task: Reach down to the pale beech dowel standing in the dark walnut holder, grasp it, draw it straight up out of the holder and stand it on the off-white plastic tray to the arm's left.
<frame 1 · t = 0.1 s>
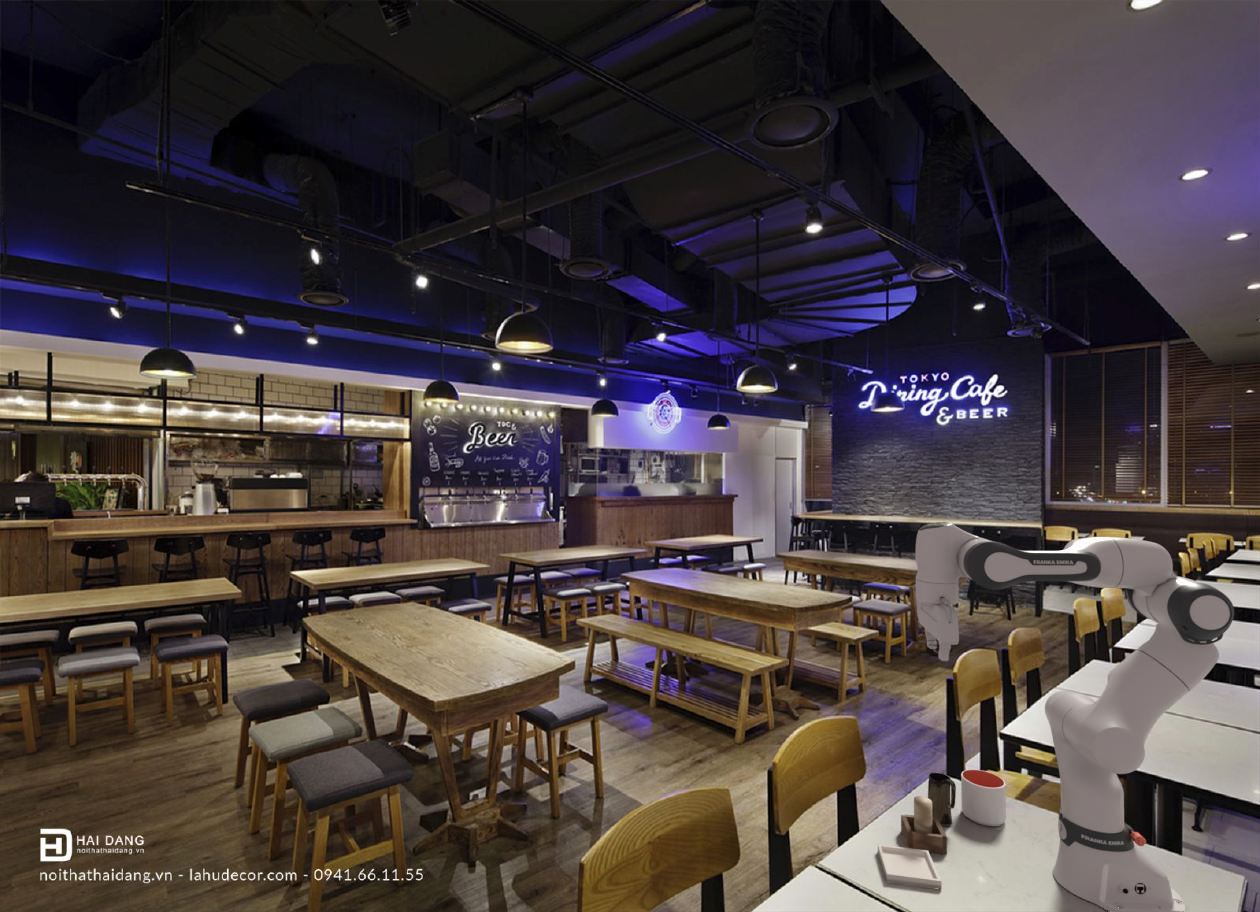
hand: (937, 653, 142), 48 cm above the table, fingers open, 8 cm apart
tray: (908, 870, 140), on the table
holder: (923, 842, 150), on the table
cup: (983, 818, 161), on the table
dowel: (923, 821, 150), in the holder
mug: (942, 823, 158), on the table
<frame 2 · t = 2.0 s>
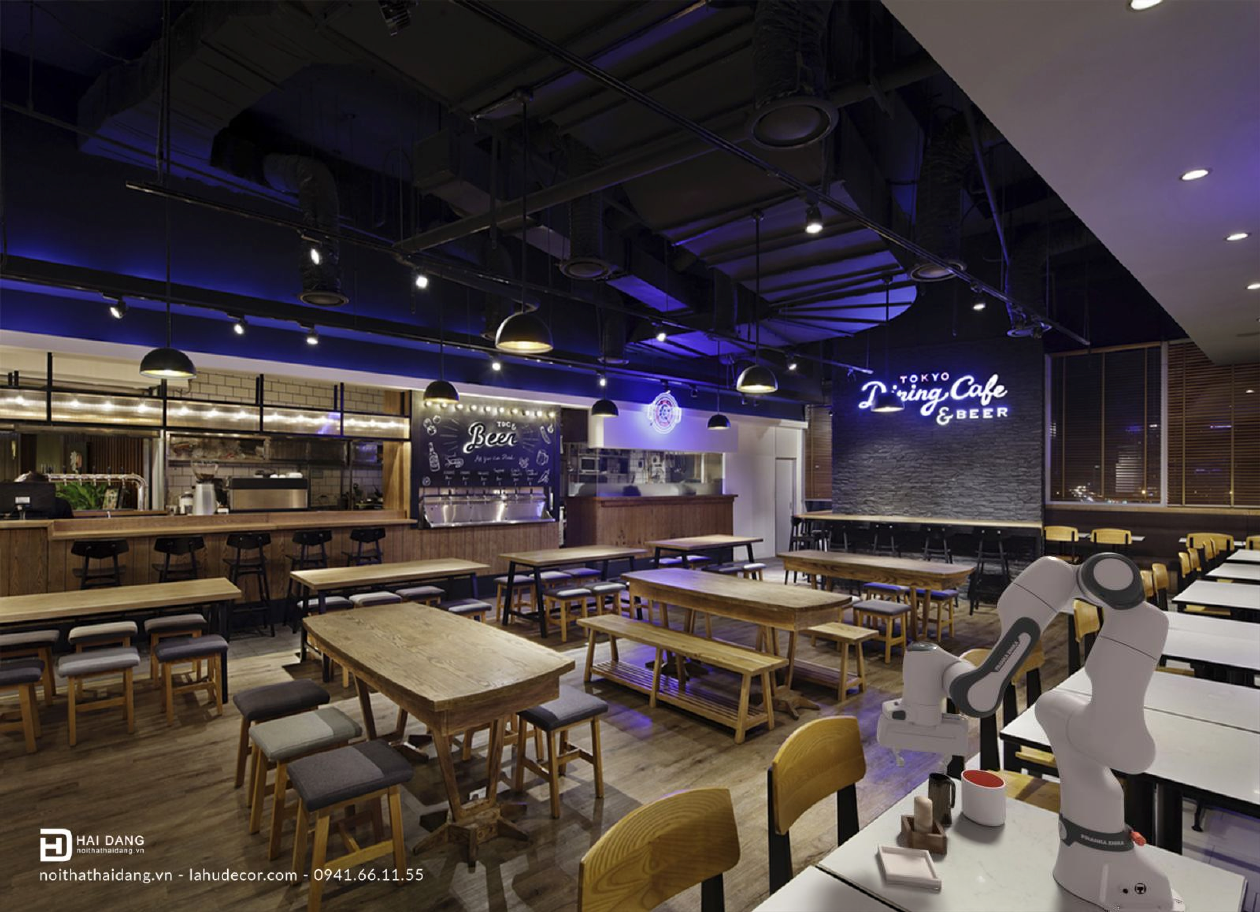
hand: (921, 768, 150), 18 cm above the table, fingers open, 8 cm apart
nothing on the table moved.
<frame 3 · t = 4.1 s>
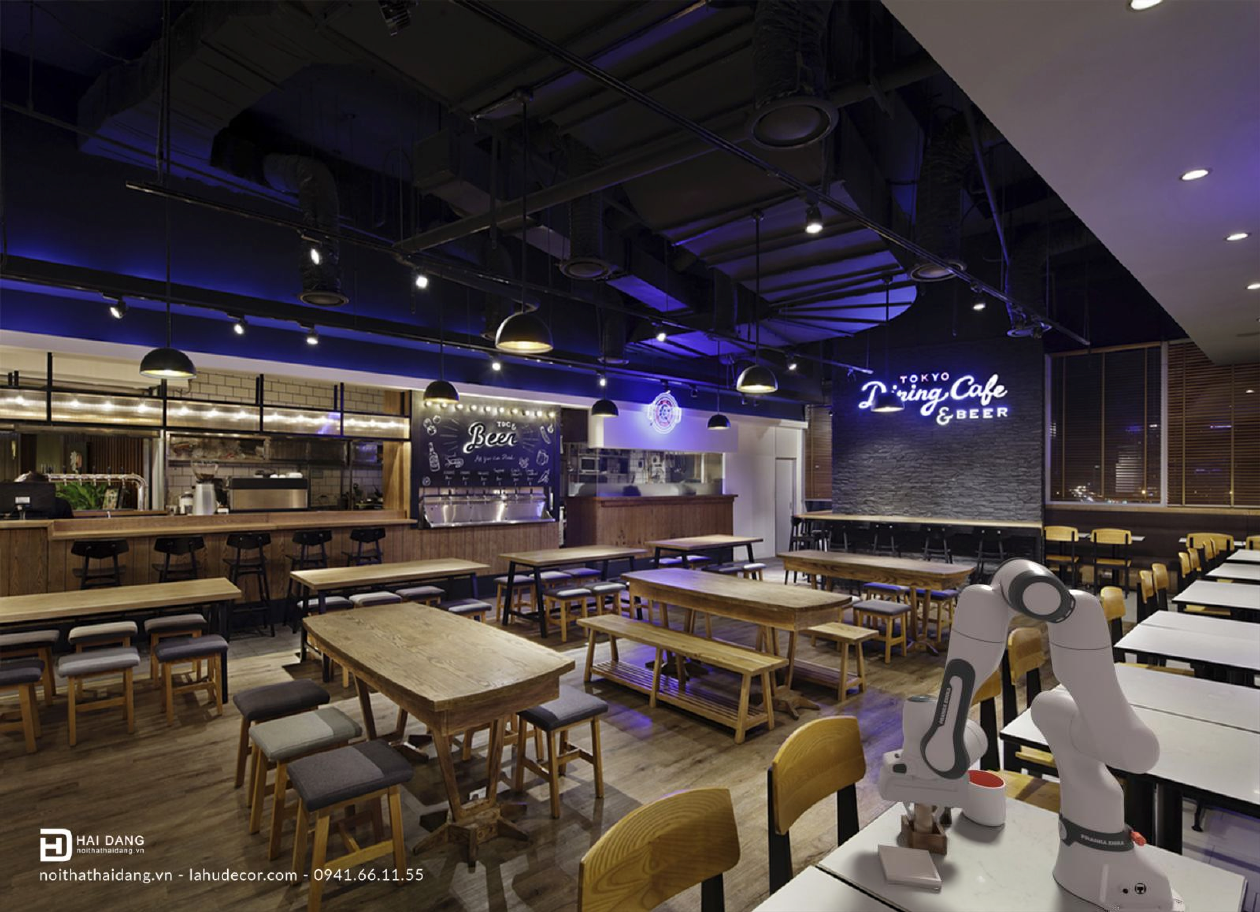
hand: (923, 820, 150), 5 cm above the table, fingers closed on dowel, 4 cm apart
dowel: (923, 821, 150), in the holder, touching gripper
everything else where it was.
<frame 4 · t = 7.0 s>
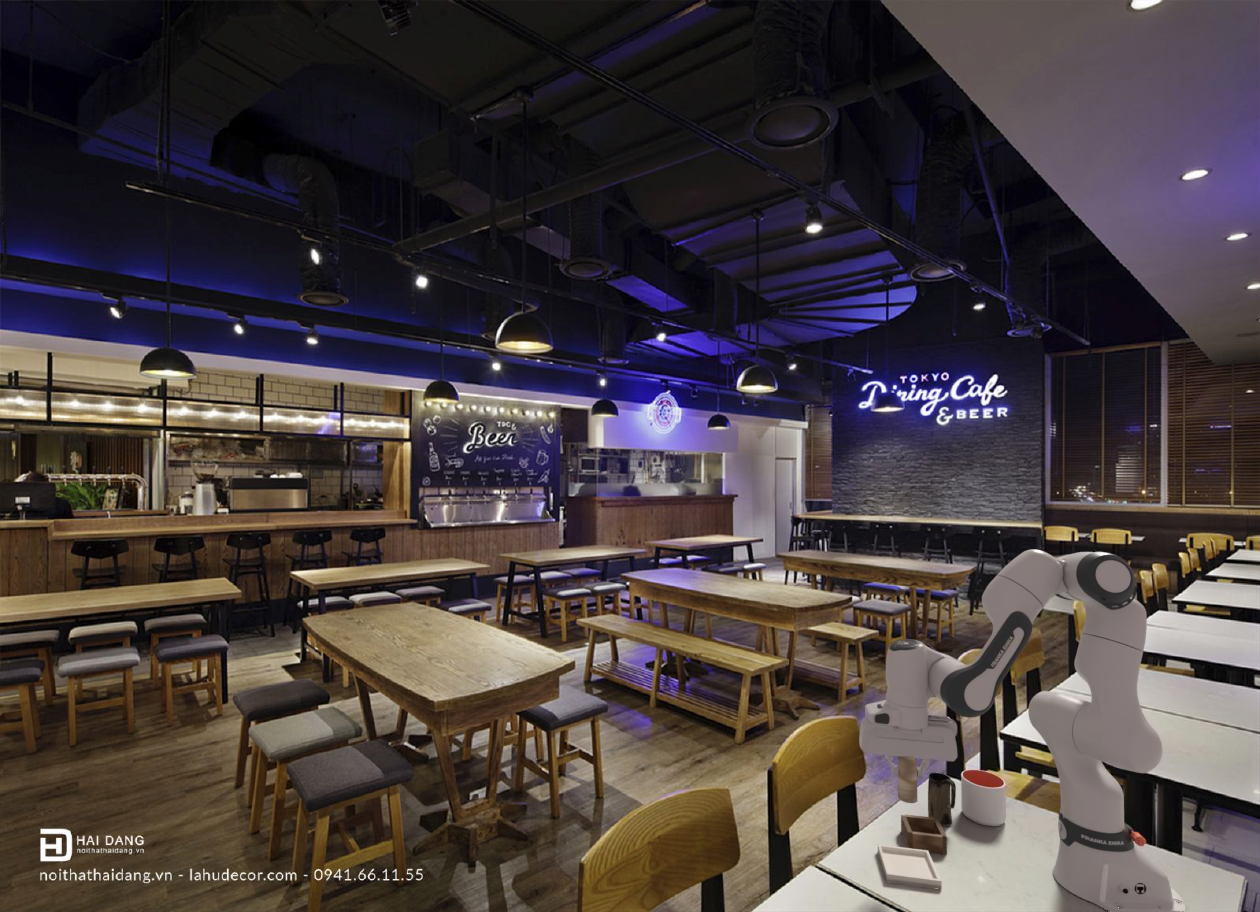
hand: (907, 775, 140), 21 cm above the table, fingers closed on dowel, 4 cm apart
dowel: (907, 776, 140), point 21 cm above the table, touching gripper
everything else where it was.
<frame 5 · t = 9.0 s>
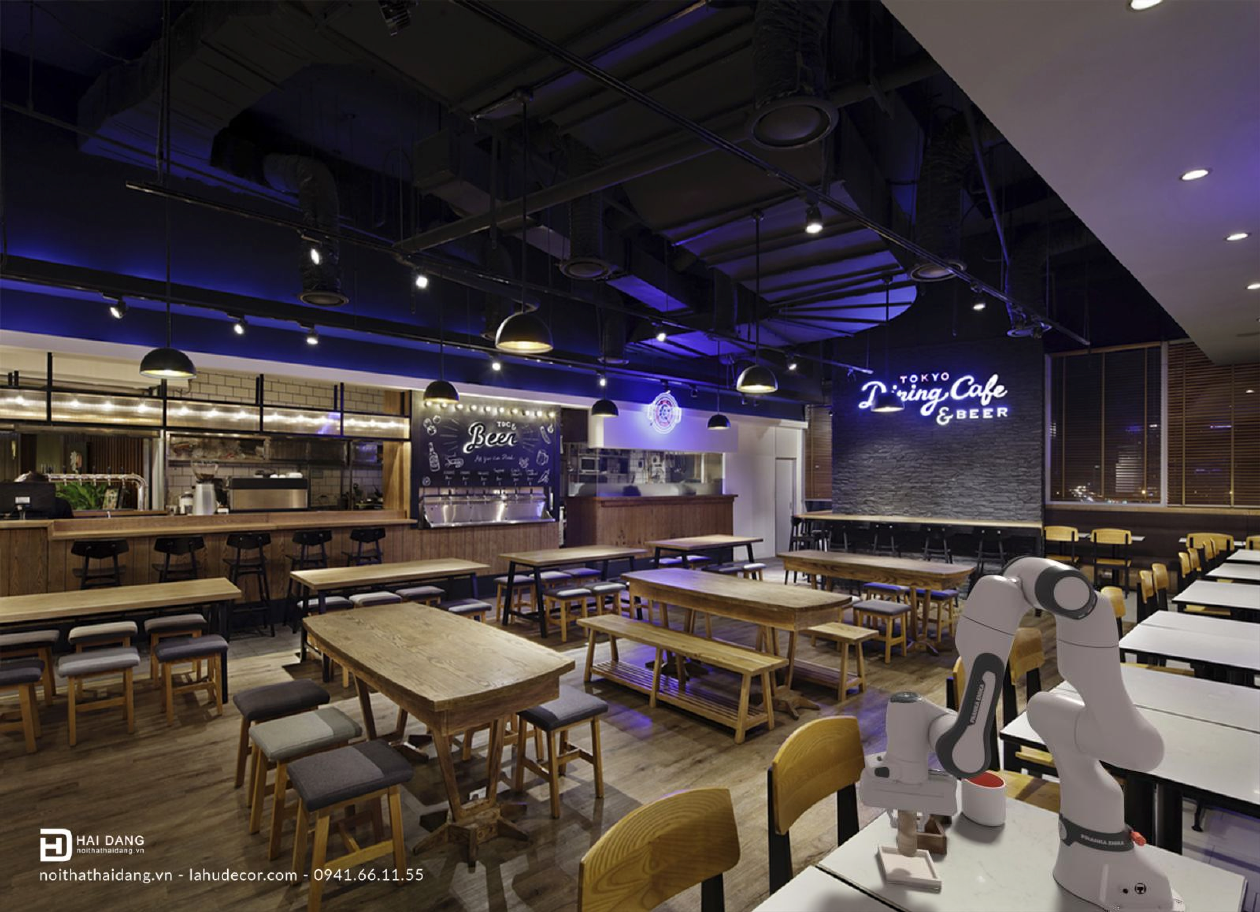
hand: (907, 828, 140), 9 cm above the table, fingers closed on dowel, 4 cm apart
dowel: (907, 829, 140), point 9 cm above the table, touching gripper
everything else where it was.
when the fingers open (7 cm above the table, at t = 10.3 s): dowel drops 1 cm, resting on tray.
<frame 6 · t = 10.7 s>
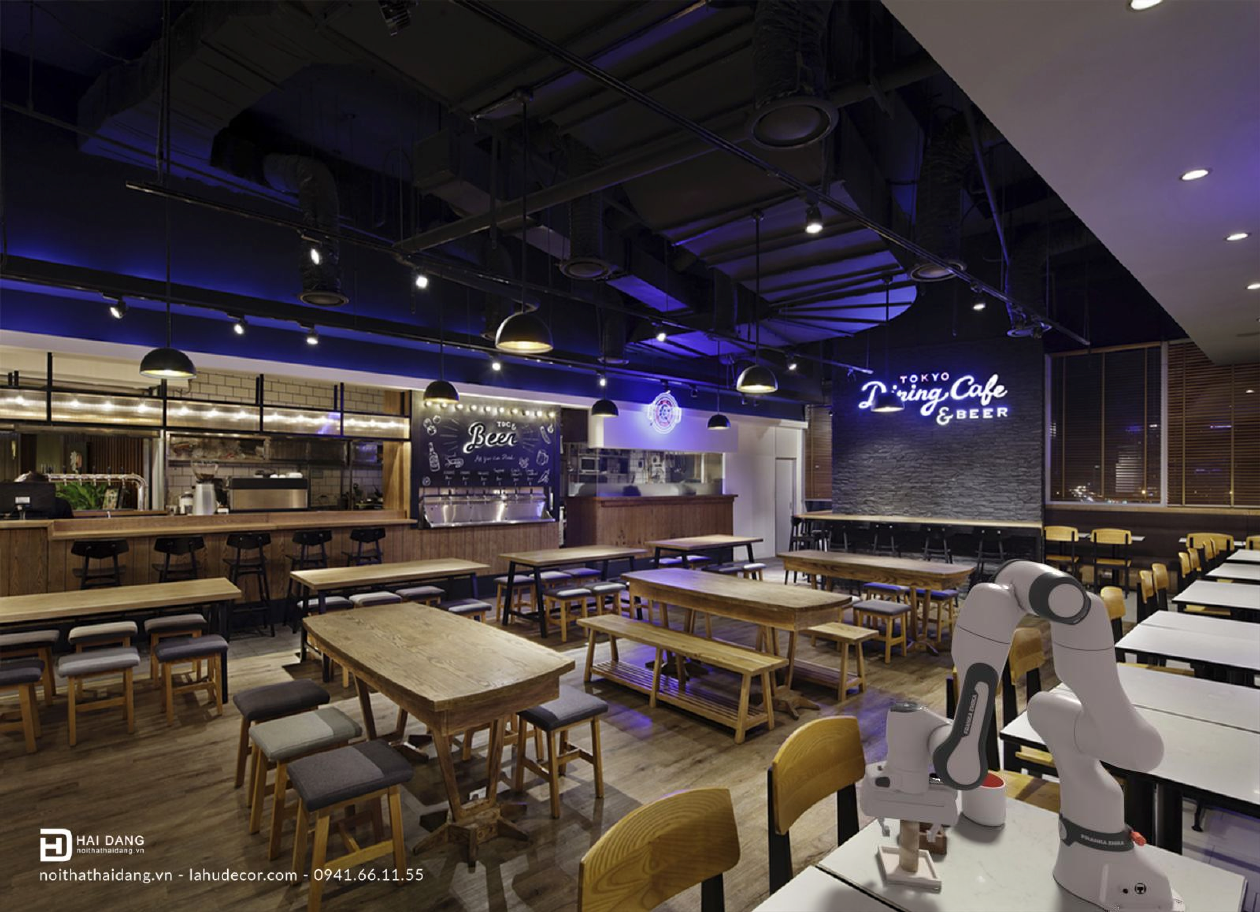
hand: (908, 838, 140), 7 cm above the table, fingers open, 8 cm apart
dowel: (909, 844, 140), in the tray, point 6 cm above the table
everything else where it was.
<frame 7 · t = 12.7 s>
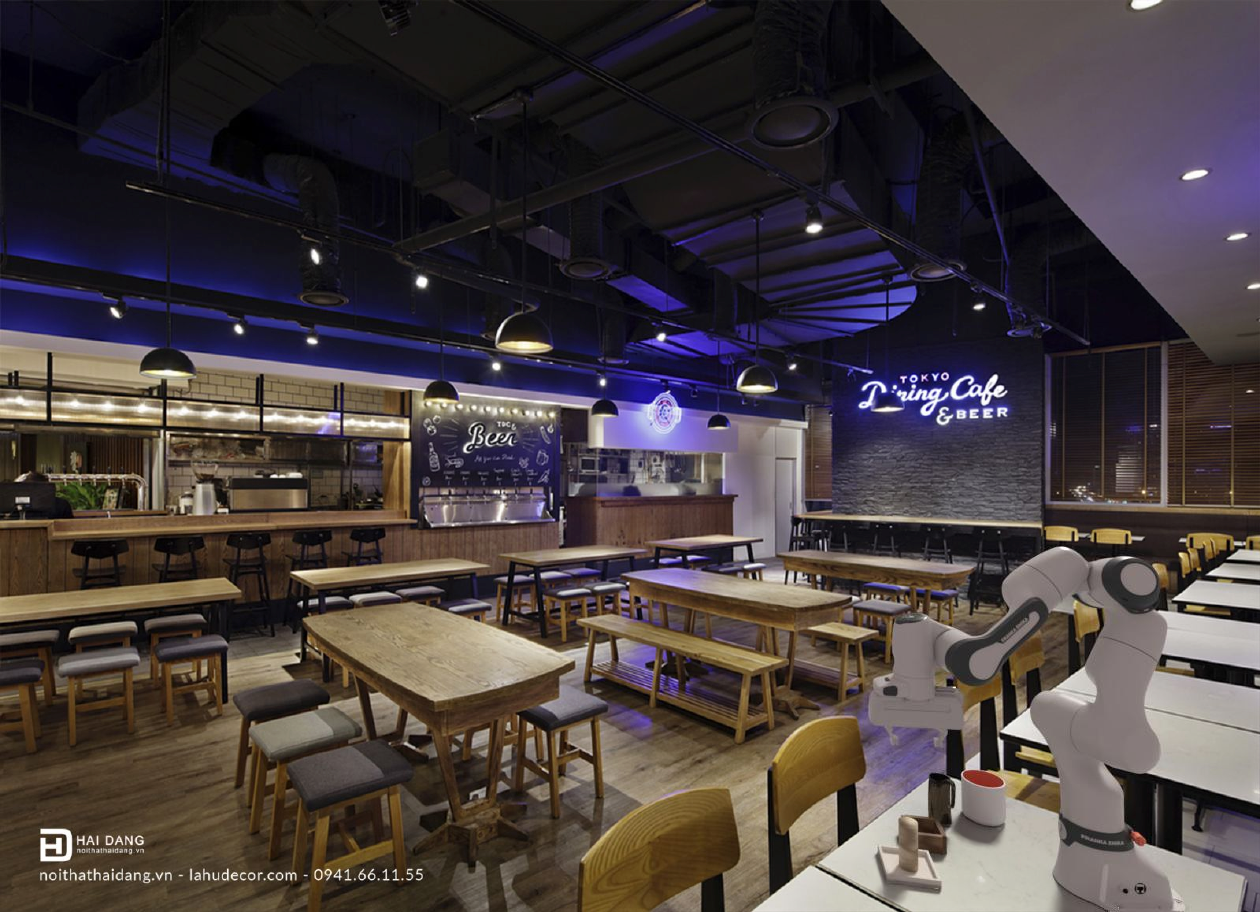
hand: (916, 745, 143), 26 cm above the table, fingers open, 8 cm apart
nothing on the table moved.
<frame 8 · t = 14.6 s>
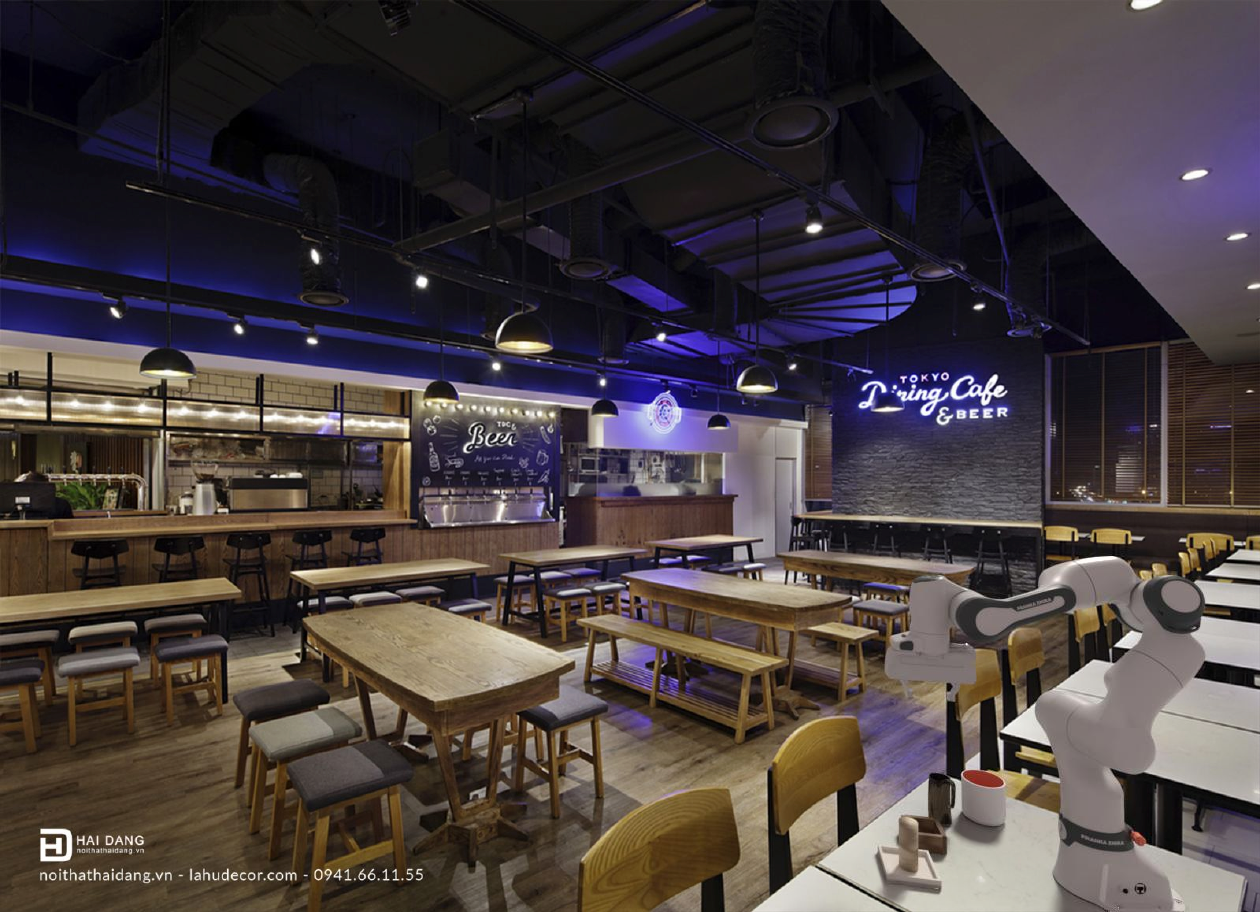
hand: (929, 699, 151), 34 cm above the table, fingers open, 8 cm apart
nothing on the table moved.
at the end: dowel inside the target area on the tray (0.1 cm from its centre), point 5.8 cm above the tray's base; dowel tilted 1°; the gripper is holding nothing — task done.
